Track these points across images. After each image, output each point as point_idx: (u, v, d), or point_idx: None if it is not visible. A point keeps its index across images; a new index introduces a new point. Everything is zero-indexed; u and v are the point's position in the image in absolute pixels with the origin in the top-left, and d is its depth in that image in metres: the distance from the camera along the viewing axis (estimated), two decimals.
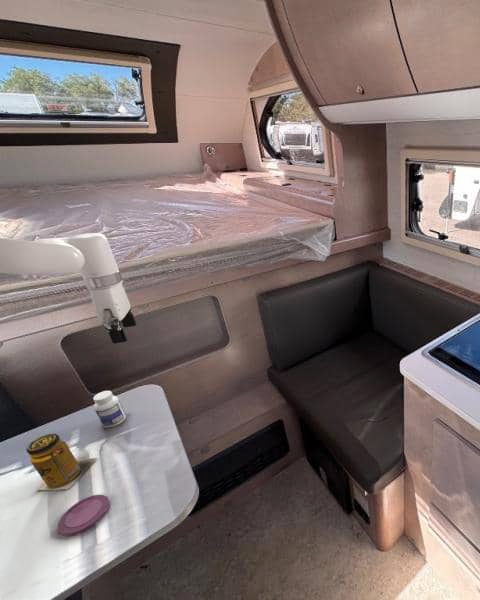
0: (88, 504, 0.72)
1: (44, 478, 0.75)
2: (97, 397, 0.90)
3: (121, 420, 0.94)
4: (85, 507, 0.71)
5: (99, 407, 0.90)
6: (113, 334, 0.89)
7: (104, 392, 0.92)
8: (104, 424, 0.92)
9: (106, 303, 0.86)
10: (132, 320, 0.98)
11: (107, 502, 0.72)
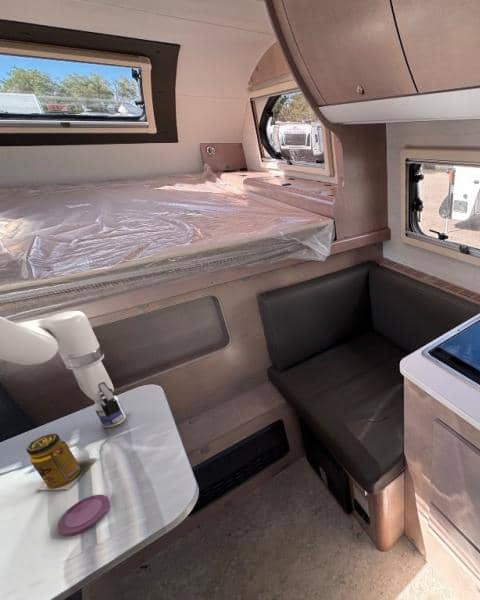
0: (88, 504, 0.72)
1: (44, 478, 0.75)
2: None
3: (121, 420, 0.94)
4: (85, 507, 0.71)
5: (99, 407, 0.90)
6: (109, 407, 0.89)
7: None
8: (104, 424, 0.92)
9: (100, 377, 0.86)
10: None
11: (107, 502, 0.72)
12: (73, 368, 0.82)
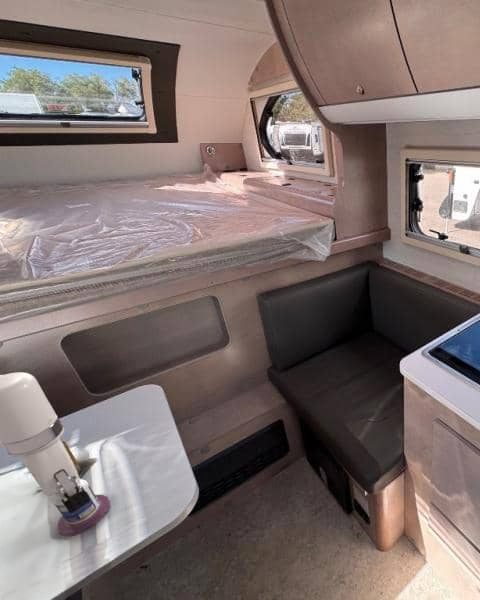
0: None
1: None
2: None
3: (92, 512, 0.70)
4: None
5: (60, 501, 0.65)
6: (73, 501, 0.63)
7: (68, 477, 0.67)
8: (68, 521, 0.67)
9: (57, 464, 0.61)
10: None
11: (107, 502, 0.72)
12: (16, 455, 0.57)
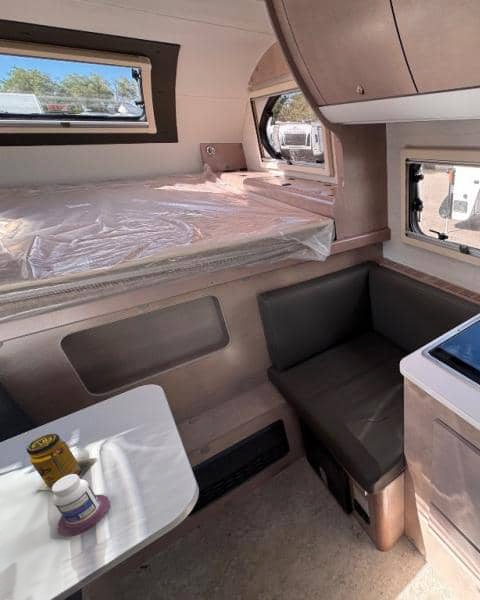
0: None
1: (44, 478, 0.75)
2: (57, 486, 0.65)
3: (92, 512, 0.70)
4: None
5: (60, 501, 0.65)
6: None
7: (68, 477, 0.67)
8: (68, 521, 0.67)
9: None
10: None
11: (107, 502, 0.72)
12: None
